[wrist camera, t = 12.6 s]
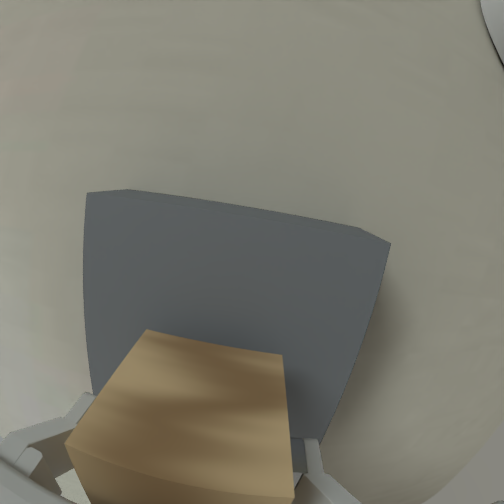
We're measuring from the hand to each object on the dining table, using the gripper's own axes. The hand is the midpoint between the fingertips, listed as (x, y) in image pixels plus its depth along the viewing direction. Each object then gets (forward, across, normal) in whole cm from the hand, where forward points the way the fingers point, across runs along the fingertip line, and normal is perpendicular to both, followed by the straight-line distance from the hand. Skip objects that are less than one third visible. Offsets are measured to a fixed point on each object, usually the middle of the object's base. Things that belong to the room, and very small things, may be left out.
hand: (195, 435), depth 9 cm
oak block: (+2, 0, 0) cm, 2 cm away
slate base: (+8, 0, 0) cm, 8 cm away
